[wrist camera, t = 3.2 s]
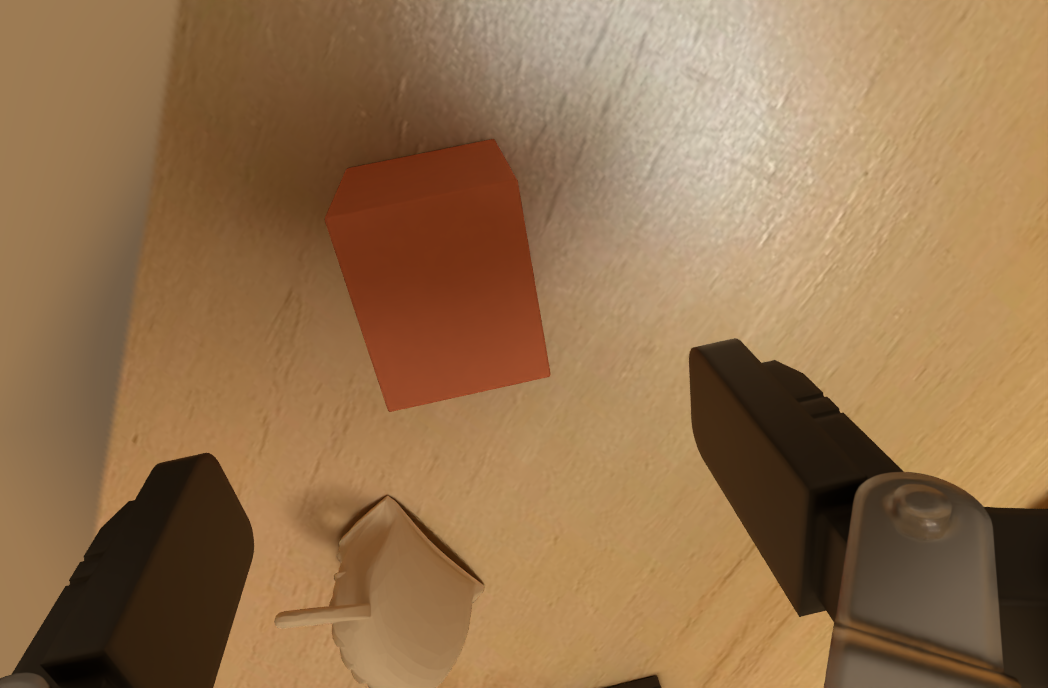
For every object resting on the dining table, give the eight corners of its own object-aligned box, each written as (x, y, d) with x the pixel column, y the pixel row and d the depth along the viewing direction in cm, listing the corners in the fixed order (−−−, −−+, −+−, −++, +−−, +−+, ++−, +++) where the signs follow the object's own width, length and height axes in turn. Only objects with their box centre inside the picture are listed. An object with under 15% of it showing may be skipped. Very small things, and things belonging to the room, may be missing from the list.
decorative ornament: (410, 628, 28) (408, 751, 24) (282, 519, 24) (250, 641, 20) (486, 587, 28) (500, 705, 23) (368, 469, 24) (356, 582, 19)
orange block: (394, 329, 21) (388, 413, 17) (345, 168, 19) (323, 218, 14) (524, 301, 22) (551, 377, 17) (494, 137, 19) (517, 178, 14)
